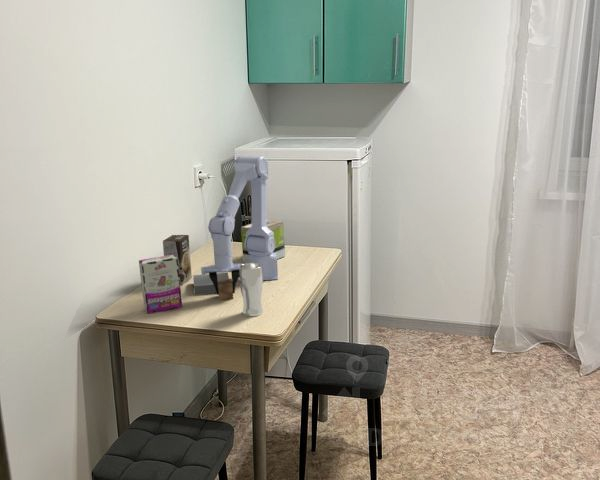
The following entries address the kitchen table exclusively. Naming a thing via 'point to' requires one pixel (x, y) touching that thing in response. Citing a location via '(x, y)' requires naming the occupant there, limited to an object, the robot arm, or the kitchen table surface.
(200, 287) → the slate base
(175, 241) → the coffee box
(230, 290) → the walnut block
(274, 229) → the tea box
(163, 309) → the candy bar box
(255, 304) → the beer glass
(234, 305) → the kitchen table surface
